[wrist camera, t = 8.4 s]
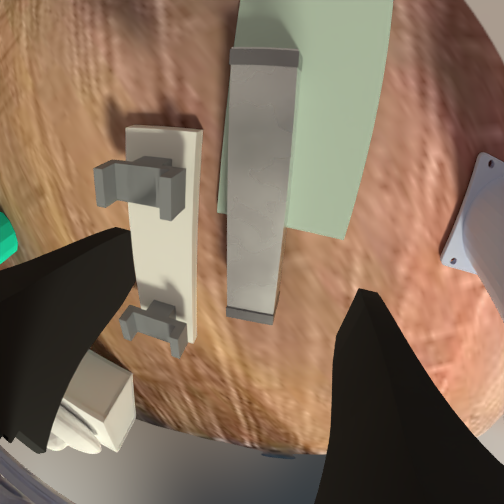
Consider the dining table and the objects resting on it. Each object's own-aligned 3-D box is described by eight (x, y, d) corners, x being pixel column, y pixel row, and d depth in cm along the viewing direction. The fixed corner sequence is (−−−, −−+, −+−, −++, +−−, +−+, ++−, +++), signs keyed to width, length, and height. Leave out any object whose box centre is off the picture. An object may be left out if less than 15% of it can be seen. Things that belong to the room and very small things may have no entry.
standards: (204, 129, 16) (172, 143, 13) (198, 336, 26) (181, 370, 23) (133, 124, 17) (91, 138, 13) (148, 320, 27) (127, 351, 23)
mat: (392, -13, 9) (394, -16, 9) (343, 235, 18) (343, 240, 17) (249, -35, 10) (246, -39, 10) (220, 208, 19) (217, 212, 18)
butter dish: (61, 370, 44) (21, 428, 31) (38, 312, 34) (-22, 384, 21) (137, 415, 44) (102, 484, 31) (133, 370, 34) (78, 467, 21)
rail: (302, 55, 12) (299, 48, 10) (278, 300, 21) (272, 326, 19) (244, 53, 13) (230, 46, 11) (236, 293, 21) (226, 317, 19)
